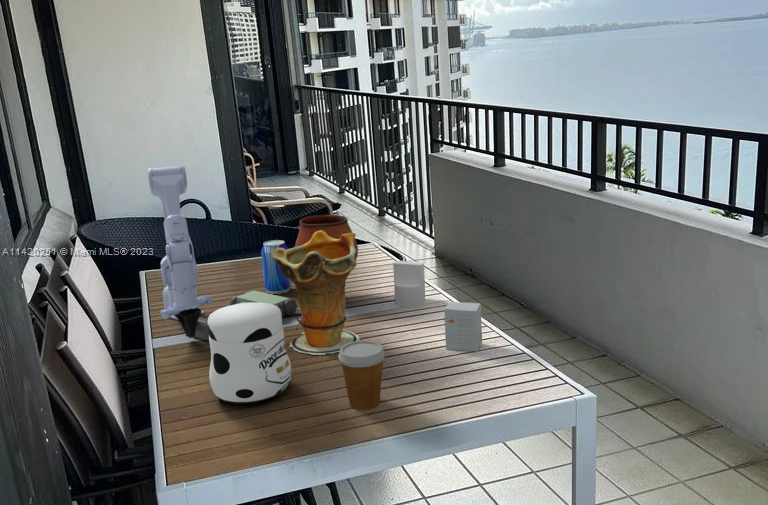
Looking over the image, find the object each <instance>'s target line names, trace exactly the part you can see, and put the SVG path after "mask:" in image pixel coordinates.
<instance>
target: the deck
mask: <svg viewBox="0 0 768 505" xmlns="http://www.w3.org/2000/svg"><path fill="white" fill-rule="evenodd" d="M258 302H261V303H269V304H273V305H275V306H277V307H278V308H279V309H280V310H281V314H282V319H283V318H284V315H285V316H287V315H288V316H293V315H295V314H296V312H297V309H298V305H297V303H298V302H296V300H294V299H291V298H290V297H286V296H280V295H273V294H269V293H268V292H262V291H258V290H247V291H245V292H244V294H241V295H237V294H235V295H233V296H232V297H231V299H230V301H229V306H231V305H235V304H242V303H258Z"/></svg>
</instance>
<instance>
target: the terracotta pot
mask: <svg viewBox="0 0 768 505" xmlns="http://www.w3.org/2000/svg"><path fill="white" fill-rule="evenodd" d="M348 221H349V220H348V218H347V217H346V216H345V215H339V214H338V215H337V214H335V215H334V214H318V215H317V214H316V215H310V216H309V215H308V216H305V217H303V218H301V219H300V220H299V223H298V224H299V228H298V229H299V230H298V234H297V238H296V240H295V245H294V247H297V246H302V245H303V244H305V243H307V242H309V241H310V239H311V238H312V236H313V234H314V233H315V232H317V231H320V230H322V231H324V232H326V233H327V235H328V236H329V237H332V238H334V239H340V237H341V235H343V234H348V233H353V231H352V229H351V227H350V226H351V225H349V223H348ZM354 245H355V249H356V255H355V256H356V257H355V261H356V262H357V258H358V255H359V254H358V252H359V248H358V242H357V240H356V238H355V239H354Z"/></svg>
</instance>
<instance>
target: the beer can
mask: <svg viewBox="0 0 768 505" xmlns="http://www.w3.org/2000/svg"><path fill="white" fill-rule="evenodd" d="M277 248H284V249H285V250H287V249H289V248H288V246H287V245H286V243H285V241H284V240H279V239H274V240H273V239H272V240H267V241H264V242H263V246H262V248H261V250H260V252H261V253H260V255H261V264H262V273H263V274H262V275H263V276H262V277H263V283H264V284H263V285H264V290H265V291H266V293H268V294H269V293H270V294H272V295H273V294H278V295H283V294H282V293H284V294H287V293H289V292H290V289H291V288H292V281H291V280H290V279H288V278H287V277H286V276H284V274H283V273H282V272H281V270H280V268H279V266H278V264H277V261H276V260H275V259H273V257H272V253H273V251H274V250H275V249H277ZM288 291H289V292H288ZM286 292H287V293H286Z"/></svg>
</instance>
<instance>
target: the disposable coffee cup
mask: <svg viewBox="0 0 768 505" xmlns="http://www.w3.org/2000/svg"><path fill="white" fill-rule="evenodd" d="M385 356H386V352H385V349H384V347H383V345H382V344H381V343H379V342H377V341H372V340H359V341H355V342H351V343H348V344H345V345H344V346H342V347H341V349H340V352H338V355H337V357H338V359H339V362H340V363H341V368H342V373H343V377H344V382H345V387H346V393H347V398H348V402H349V407H351V408H353V409H355V410H359V411H362V410H363V411H364V410H365V411H366V410H371V409H375V408H376V407H378V406H379V405H380V403H381V393H382V392H381V391H382V378H383V365H384V359H385Z"/></svg>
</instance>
